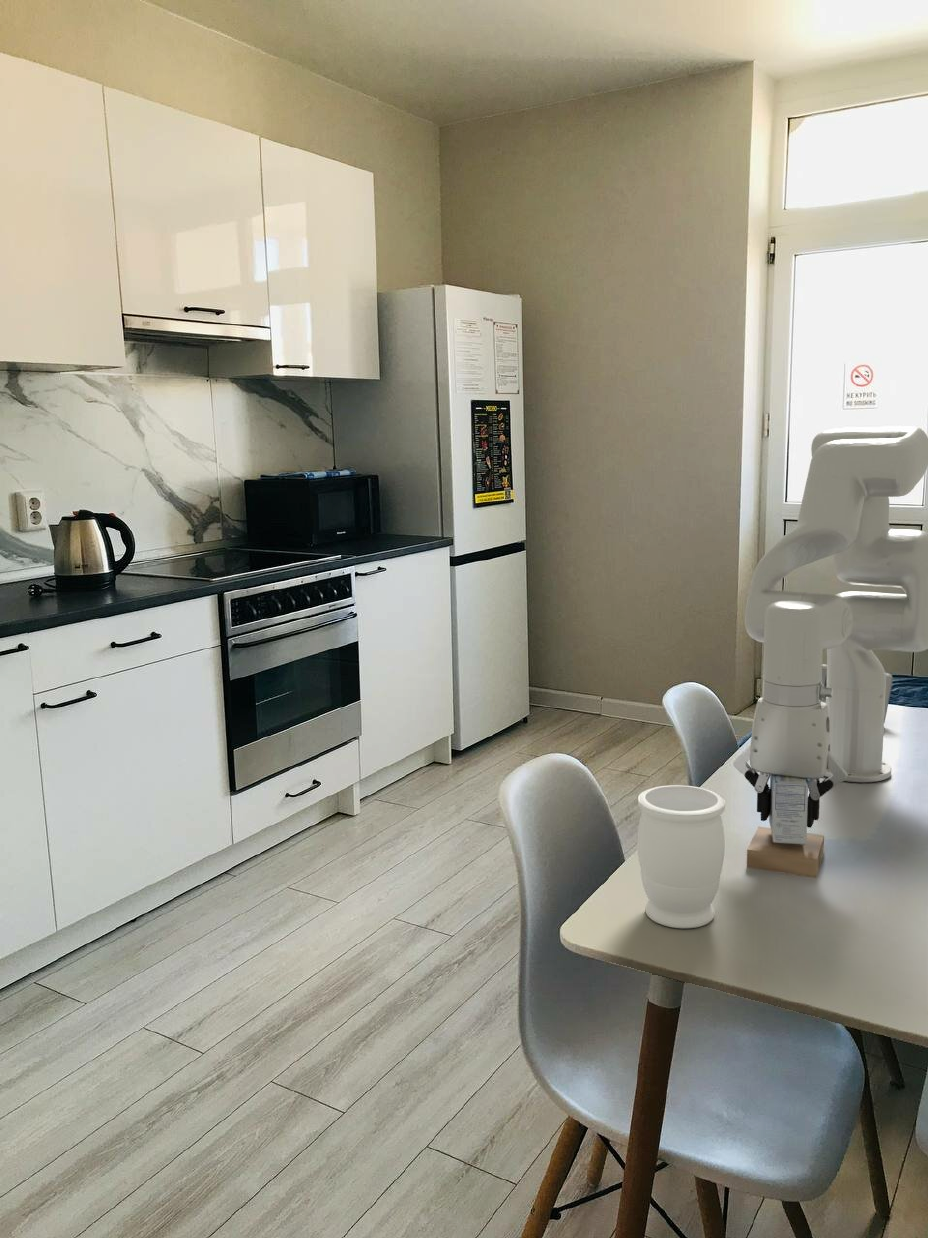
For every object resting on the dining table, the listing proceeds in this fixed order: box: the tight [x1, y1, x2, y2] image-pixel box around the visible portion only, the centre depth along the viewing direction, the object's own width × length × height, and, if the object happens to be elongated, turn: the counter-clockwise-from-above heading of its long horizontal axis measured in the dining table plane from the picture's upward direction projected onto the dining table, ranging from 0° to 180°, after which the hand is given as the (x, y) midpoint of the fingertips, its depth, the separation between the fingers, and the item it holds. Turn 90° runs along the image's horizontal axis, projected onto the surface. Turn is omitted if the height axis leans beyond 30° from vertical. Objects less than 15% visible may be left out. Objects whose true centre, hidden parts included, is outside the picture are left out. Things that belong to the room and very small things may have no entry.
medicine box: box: [768, 774, 809, 845], centre depth 138 cm, size 8×4×9 cm, turn 167°
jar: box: [637, 784, 726, 929], centre depth 123 cm, size 11×10×15 cm
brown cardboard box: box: [746, 826, 825, 879], centre depth 139 cm, size 9×9×3 cm
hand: (787, 819), depth 139 cm, fingers closed on medicine box, 5 cm apart
